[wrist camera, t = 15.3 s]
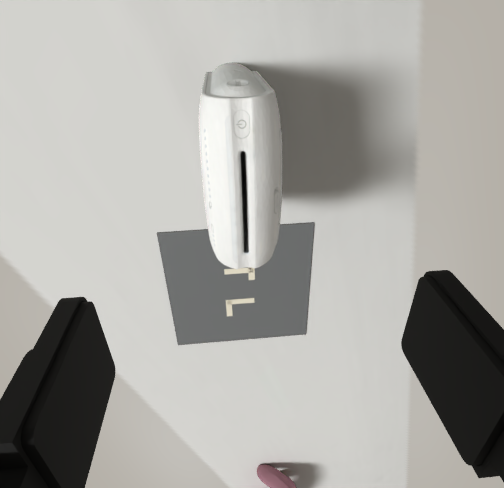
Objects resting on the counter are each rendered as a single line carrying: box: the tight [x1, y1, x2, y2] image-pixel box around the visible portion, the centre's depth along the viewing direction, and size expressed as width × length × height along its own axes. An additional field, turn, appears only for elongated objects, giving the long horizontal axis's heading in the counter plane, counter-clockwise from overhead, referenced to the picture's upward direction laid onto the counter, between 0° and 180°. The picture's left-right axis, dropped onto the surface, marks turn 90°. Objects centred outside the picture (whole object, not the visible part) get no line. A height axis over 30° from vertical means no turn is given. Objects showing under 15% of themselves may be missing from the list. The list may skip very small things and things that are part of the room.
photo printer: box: [199, 63, 283, 269], centre depth 23 cm, size 10×4×12 cm, turn 1°
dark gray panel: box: [157, 222, 314, 345], centre depth 36 cm, size 14×14×1 cm
